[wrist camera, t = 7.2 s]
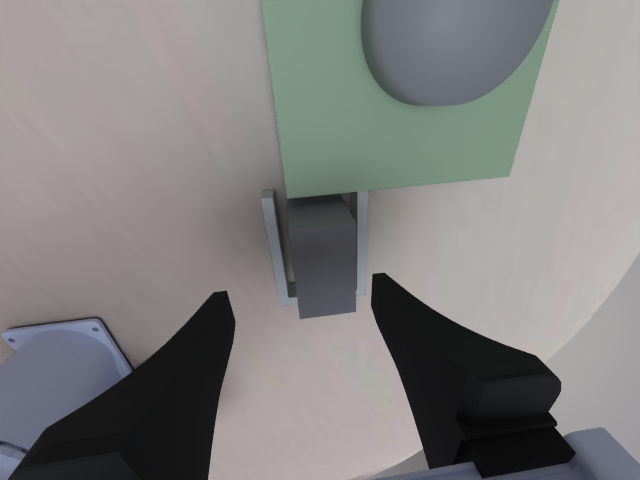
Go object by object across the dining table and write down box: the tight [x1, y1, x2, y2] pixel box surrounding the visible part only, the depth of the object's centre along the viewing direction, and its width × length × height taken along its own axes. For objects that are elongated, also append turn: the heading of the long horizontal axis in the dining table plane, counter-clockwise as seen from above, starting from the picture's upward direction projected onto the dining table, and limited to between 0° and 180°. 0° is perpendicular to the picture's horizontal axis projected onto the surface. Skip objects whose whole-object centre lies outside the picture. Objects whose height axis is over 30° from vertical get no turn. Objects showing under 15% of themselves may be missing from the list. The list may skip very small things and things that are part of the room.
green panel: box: [261, 0, 559, 306], centre depth 17 cm, size 24×18×6 cm
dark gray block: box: [288, 194, 356, 319], centre depth 19 cm, size 7×4×6 cm, turn 4°
